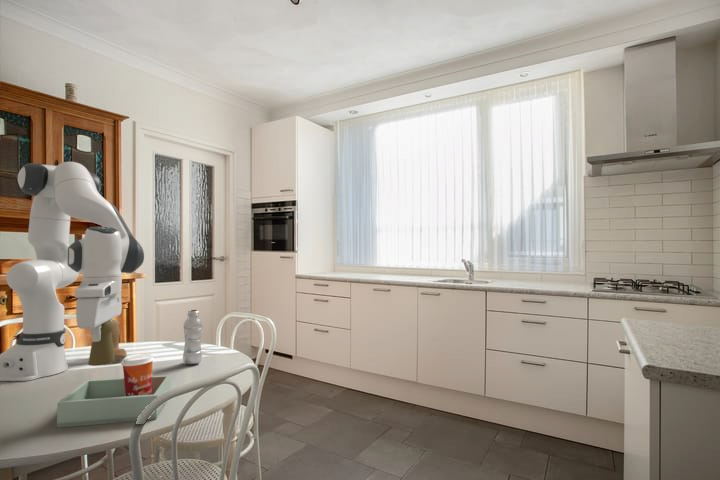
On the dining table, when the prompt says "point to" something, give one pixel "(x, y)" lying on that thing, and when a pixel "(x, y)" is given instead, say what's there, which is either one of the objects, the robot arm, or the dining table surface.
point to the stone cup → (117, 342)
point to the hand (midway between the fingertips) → (101, 338)
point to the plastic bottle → (192, 338)
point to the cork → (103, 347)
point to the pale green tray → (107, 402)
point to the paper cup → (138, 374)
